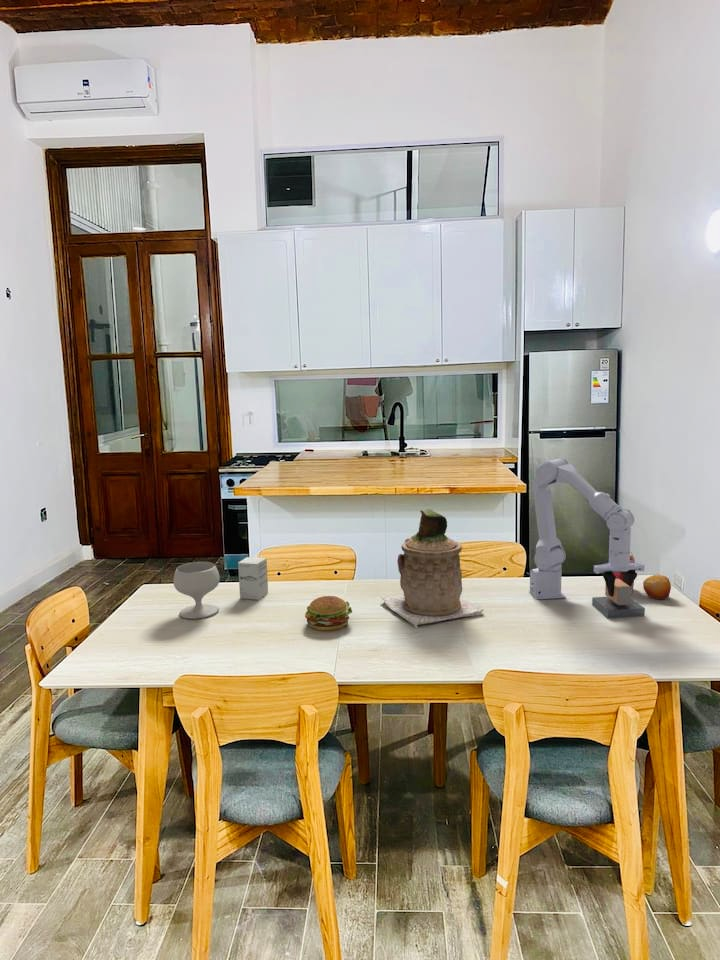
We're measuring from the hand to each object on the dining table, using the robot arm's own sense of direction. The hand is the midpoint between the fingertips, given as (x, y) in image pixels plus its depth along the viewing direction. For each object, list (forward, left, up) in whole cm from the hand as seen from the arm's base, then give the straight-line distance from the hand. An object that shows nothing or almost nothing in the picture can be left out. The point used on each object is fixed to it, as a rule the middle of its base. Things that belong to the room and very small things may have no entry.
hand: (618, 594), depth 195 cm
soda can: (+10, +18, -5) cm, 22 cm away
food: (-86, +2, -5) cm, 86 cm away
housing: (0, 0, -1) cm, 1 cm away
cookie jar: (-55, +10, -5) cm, 56 cm away
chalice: (-127, +17, -5) cm, 128 cm away
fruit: (+17, +9, -5) cm, 20 cm away
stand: (0, 0, -5) cm, 5 cm away
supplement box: (-111, +30, -5) cm, 115 cm away
